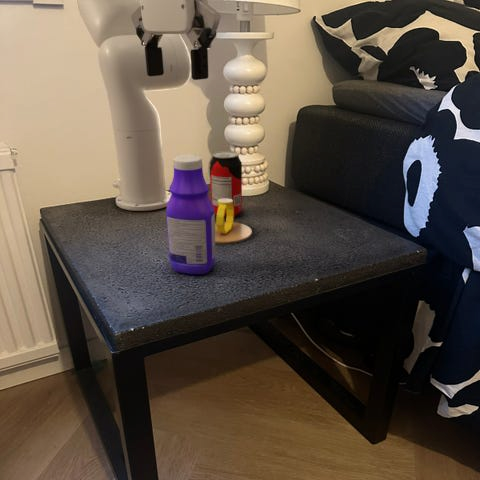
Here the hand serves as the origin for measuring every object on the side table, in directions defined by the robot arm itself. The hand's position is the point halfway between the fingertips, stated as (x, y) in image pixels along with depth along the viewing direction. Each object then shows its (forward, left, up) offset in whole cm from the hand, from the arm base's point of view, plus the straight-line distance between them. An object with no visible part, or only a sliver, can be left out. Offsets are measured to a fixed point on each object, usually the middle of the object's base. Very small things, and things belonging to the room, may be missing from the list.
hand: (177, 77), depth 75 cm
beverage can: (-1, +13, -26) cm, 30 cm away
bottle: (+11, -10, -26) cm, 30 cm away
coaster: (+6, +4, -26) cm, 27 cm away
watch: (+6, +4, -26) cm, 27 cm away
